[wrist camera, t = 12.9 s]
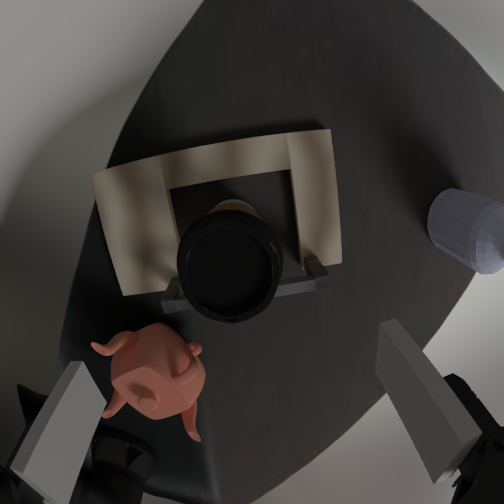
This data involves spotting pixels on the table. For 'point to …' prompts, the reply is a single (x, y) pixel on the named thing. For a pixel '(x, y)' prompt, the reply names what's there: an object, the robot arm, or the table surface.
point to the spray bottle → (468, 229)
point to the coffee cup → (229, 263)
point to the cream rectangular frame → (209, 169)
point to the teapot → (155, 373)
